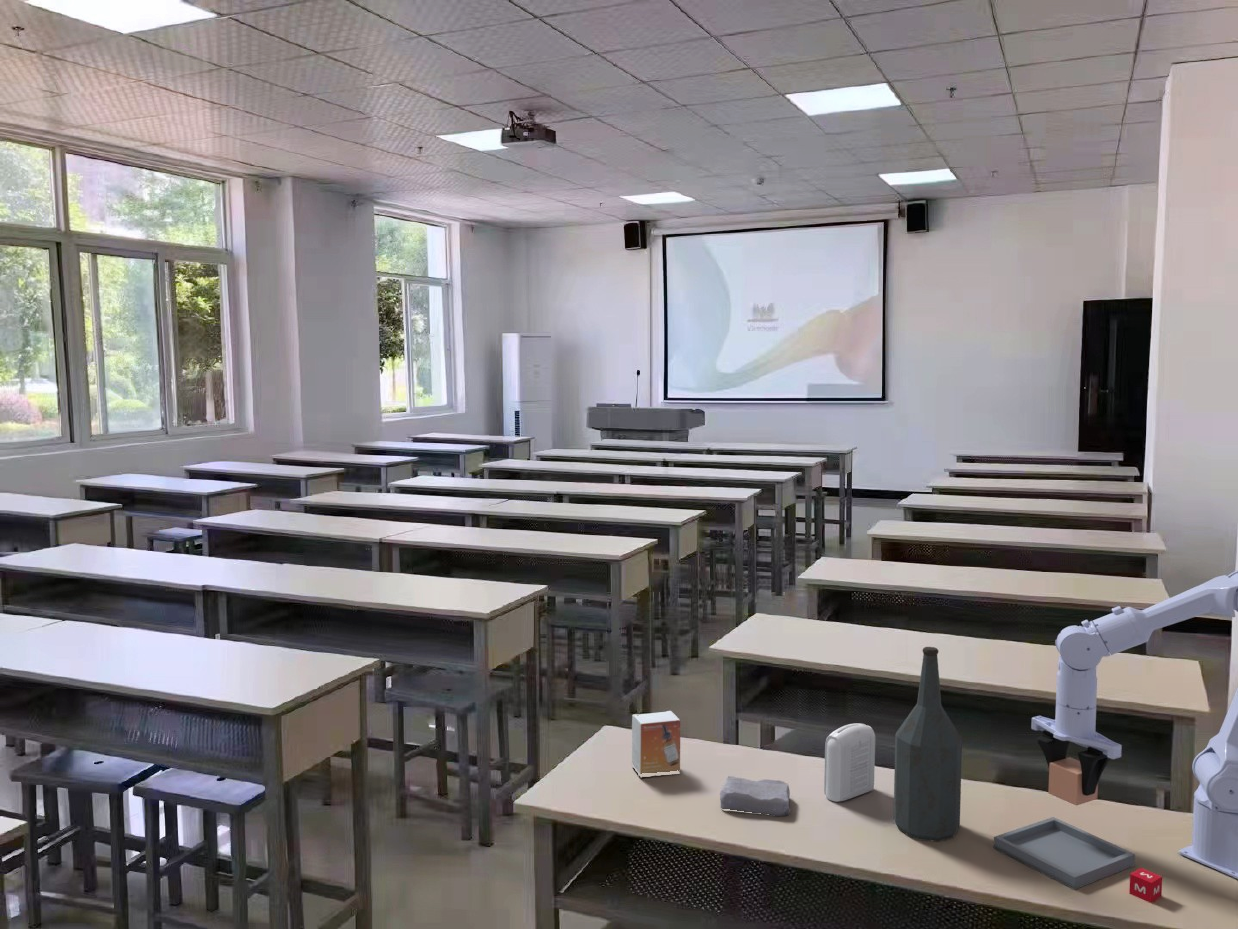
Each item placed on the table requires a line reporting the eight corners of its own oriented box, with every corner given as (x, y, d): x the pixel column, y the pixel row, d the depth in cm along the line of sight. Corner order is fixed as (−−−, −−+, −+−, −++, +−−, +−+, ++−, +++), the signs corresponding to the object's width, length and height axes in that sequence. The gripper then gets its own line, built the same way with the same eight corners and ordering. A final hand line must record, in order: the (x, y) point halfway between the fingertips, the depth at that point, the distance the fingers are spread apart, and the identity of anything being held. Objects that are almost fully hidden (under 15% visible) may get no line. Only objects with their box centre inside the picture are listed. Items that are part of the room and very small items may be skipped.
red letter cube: (1129, 894, 134) (1129, 874, 134) (1140, 888, 136) (1140, 867, 136) (1150, 903, 132) (1151, 883, 132) (1161, 897, 134) (1162, 876, 133)
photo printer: (858, 782, 172) (860, 716, 171) (877, 790, 169) (879, 723, 168) (820, 796, 166) (821, 728, 165) (839, 805, 163) (840, 735, 162)
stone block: (723, 799, 170) (717, 813, 160) (725, 772, 170) (719, 783, 161) (790, 808, 167) (788, 822, 158) (792, 780, 168) (790, 792, 158)
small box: (639, 779, 174) (639, 724, 173) (631, 768, 179) (631, 713, 178) (681, 774, 176) (681, 719, 175) (671, 763, 181) (671, 709, 180)
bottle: (949, 848, 148) (954, 660, 145) (887, 833, 153) (890, 651, 150) (964, 822, 156) (969, 644, 154) (905, 808, 161) (908, 636, 159)
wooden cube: (1097, 799, 149) (1098, 768, 149) (1076, 805, 147) (1077, 774, 146) (1069, 787, 153) (1070, 757, 153) (1048, 793, 151) (1049, 763, 151)
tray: (1134, 865, 142) (1135, 854, 142) (1074, 889, 135) (1074, 877, 135) (1052, 827, 154) (1053, 817, 154) (993, 848, 148) (993, 836, 148)
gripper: (1019, 694, 153) (1017, 775, 154) (1101, 722, 141) (1098, 810, 142) (1049, 687, 157) (1046, 767, 158) (1131, 714, 144) (1127, 800, 145)
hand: (1072, 787), depth 150 cm, fingers closed on wooden cube, 5 cm apart
